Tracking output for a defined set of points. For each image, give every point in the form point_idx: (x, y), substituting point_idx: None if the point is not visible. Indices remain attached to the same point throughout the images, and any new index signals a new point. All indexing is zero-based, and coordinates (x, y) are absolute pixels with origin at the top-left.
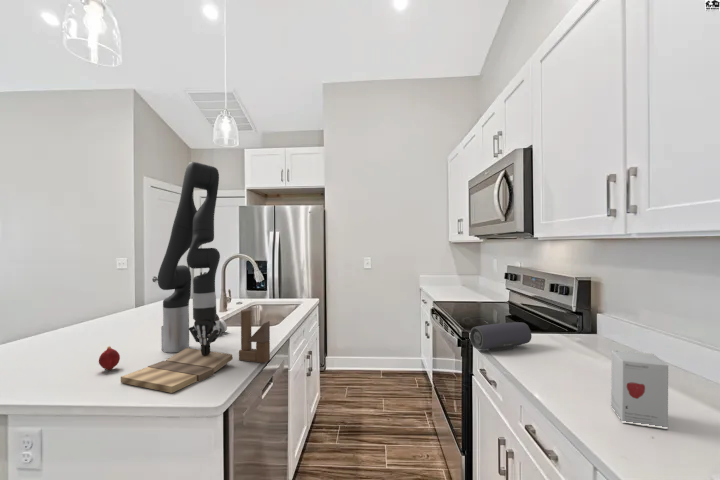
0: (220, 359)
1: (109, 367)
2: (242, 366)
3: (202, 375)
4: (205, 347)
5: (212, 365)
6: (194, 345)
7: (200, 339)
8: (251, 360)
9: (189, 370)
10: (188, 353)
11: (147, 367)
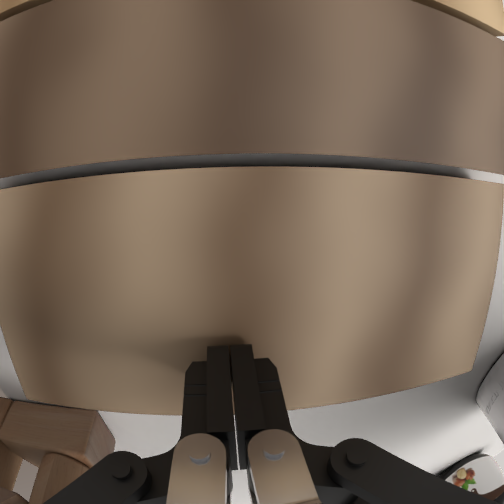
0: (27, 323)
1: None
2: (2, 346)
3: None
4: (206, 413)
5: (4, 220)
6: (466, 422)
7: (290, 490)
8: (28, 406)
9: (95, 40)
10: (416, 326)
11: (500, 24)
